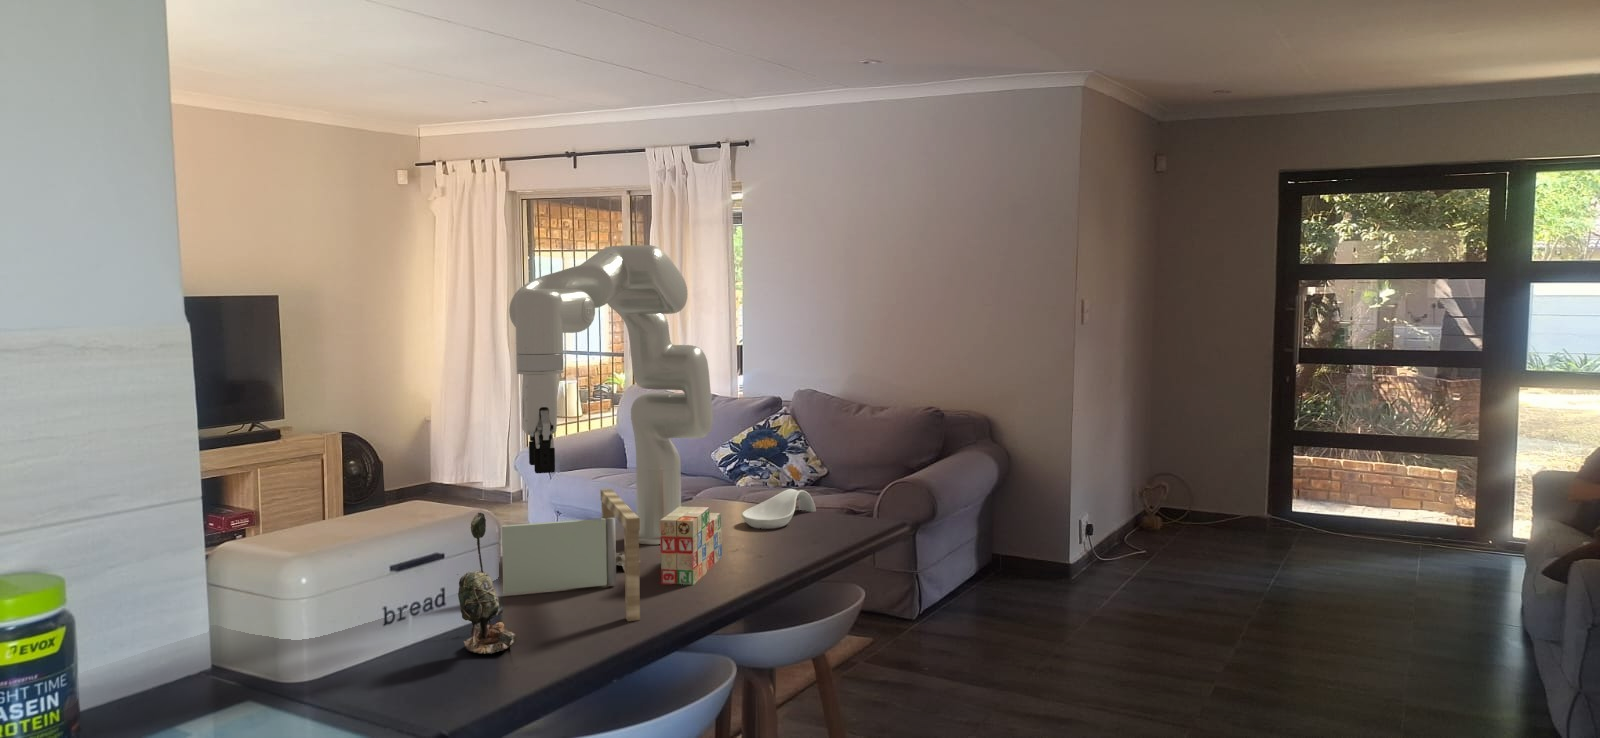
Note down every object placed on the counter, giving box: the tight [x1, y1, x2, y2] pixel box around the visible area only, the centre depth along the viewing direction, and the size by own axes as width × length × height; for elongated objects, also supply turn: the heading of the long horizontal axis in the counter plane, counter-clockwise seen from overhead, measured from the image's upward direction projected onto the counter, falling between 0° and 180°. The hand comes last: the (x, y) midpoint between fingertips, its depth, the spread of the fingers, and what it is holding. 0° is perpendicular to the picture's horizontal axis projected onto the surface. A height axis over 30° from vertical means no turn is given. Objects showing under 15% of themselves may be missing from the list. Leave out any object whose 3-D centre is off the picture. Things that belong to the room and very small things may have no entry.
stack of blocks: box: [660, 506, 723, 586], centre depth 208 cm, size 21×6×12 cm, turn 170°
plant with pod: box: [456, 512, 516, 654], centre depth 163 cm, size 8×11×20 cm
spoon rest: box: [741, 488, 817, 530], centre depth 251 cm, size 24×12×7 cm, turn 150°
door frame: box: [599, 488, 641, 622], centre depth 188 cm, size 28×2×17 cm, turn 19°
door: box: [501, 517, 617, 595], centre depth 194 cm, size 20×2×12 cm, turn 109°
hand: (541, 468), depth 180 cm, fingers open, 8 cm apart
